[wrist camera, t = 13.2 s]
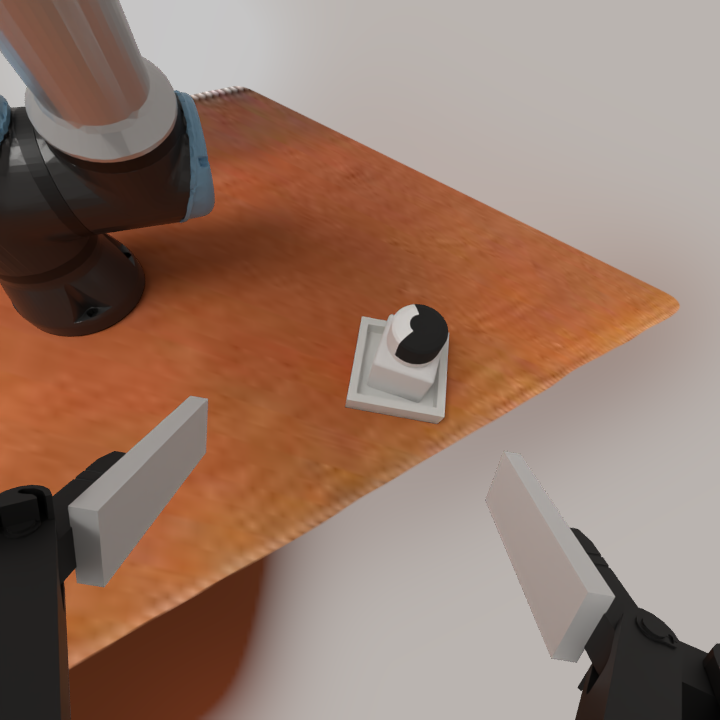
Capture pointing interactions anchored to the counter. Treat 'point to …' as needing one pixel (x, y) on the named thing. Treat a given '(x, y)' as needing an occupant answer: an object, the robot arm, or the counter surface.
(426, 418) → the grey square tray
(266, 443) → the counter surface
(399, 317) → the medicine bottle
